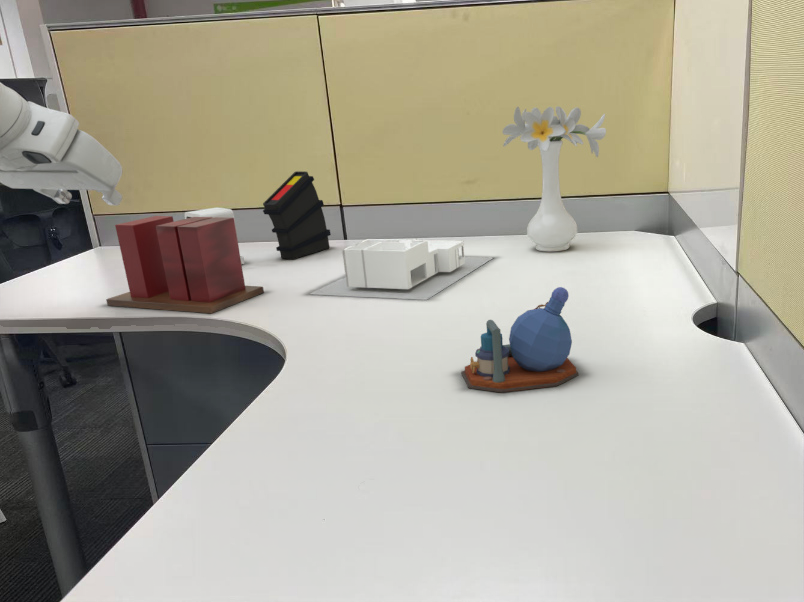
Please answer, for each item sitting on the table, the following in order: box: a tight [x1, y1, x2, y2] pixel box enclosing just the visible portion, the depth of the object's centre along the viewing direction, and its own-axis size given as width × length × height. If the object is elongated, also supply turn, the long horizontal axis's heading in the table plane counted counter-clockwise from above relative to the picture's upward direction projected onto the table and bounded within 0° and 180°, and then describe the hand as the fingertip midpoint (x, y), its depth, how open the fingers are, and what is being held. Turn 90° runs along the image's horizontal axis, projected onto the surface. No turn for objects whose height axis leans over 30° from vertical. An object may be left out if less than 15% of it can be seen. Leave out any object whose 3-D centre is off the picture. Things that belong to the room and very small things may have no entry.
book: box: [114, 215, 175, 298], centre depth 124 cm, size 8×4×11 cm, turn 158°
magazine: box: [262, 170, 332, 260], centre depth 151 cm, size 4×13×15 cm, turn 153°
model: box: [460, 286, 579, 393], centre depth 85 cm, size 12×9×9 cm
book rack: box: [106, 217, 265, 314], centre depth 122 cm, size 12×20×12 cm, turn 69°
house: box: [309, 238, 494, 301], centre depth 129 cm, size 22×18×6 cm
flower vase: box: [501, 105, 607, 253], centre depth 144 cm, size 13×18×25 cm
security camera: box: [184, 207, 246, 265], centre depth 145 cm, size 6×7×10 cm
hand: (91, 200), depth 114 cm, fingers open, 8 cm apart
